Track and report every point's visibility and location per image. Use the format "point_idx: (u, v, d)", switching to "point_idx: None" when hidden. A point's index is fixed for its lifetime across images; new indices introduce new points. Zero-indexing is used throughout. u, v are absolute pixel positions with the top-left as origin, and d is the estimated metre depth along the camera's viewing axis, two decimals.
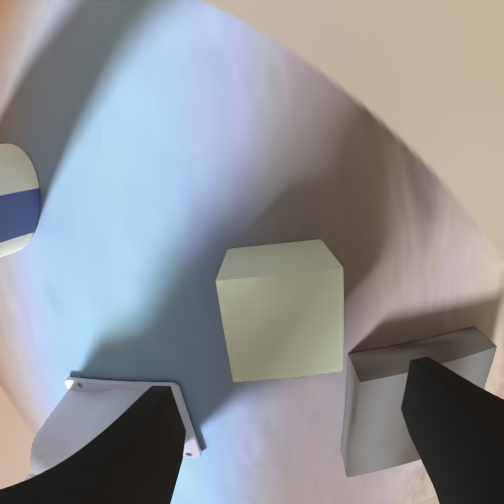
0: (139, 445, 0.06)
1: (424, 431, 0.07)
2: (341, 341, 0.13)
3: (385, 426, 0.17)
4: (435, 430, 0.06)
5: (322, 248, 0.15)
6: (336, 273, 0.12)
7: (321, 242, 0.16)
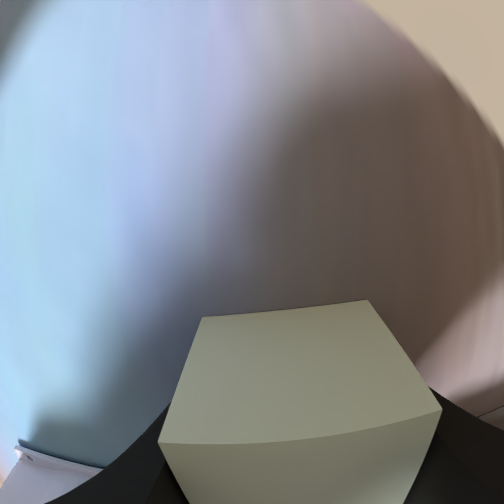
0: None
1: None
2: (402, 499, 0.05)
3: None
4: None
5: (380, 332, 0.07)
6: (427, 421, 0.04)
7: (372, 311, 0.08)
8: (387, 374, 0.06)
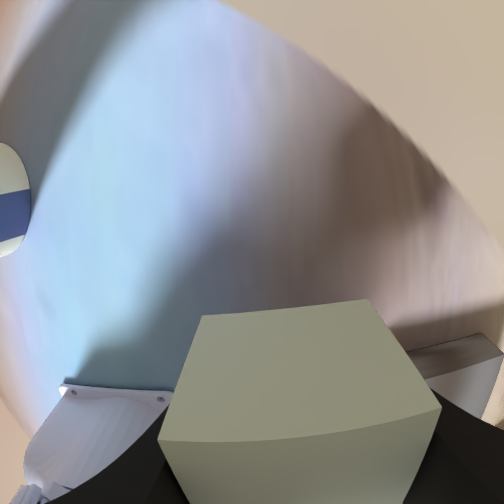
0: None
1: None
2: (401, 498, 0.05)
3: None
4: None
5: (379, 330, 0.07)
6: (426, 419, 0.04)
7: (372, 310, 0.08)
8: (386, 372, 0.06)
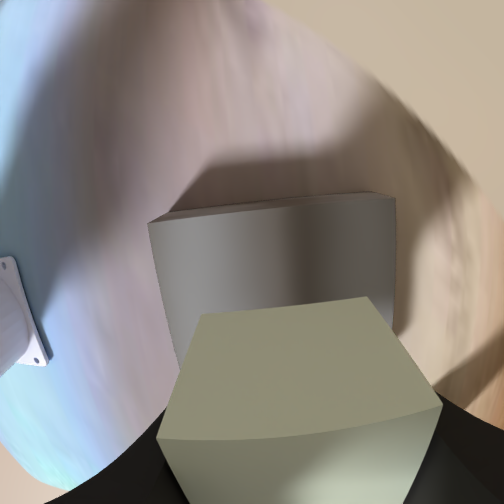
0: None
1: None
2: (403, 496, 0.05)
3: None
4: None
5: (379, 328, 0.07)
6: (427, 417, 0.04)
7: (371, 307, 0.08)
8: (387, 370, 0.06)
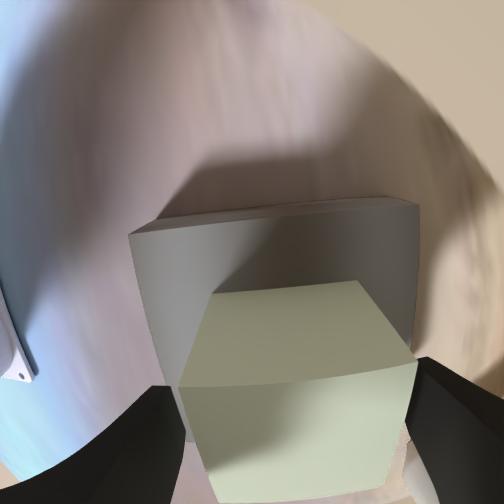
0: (139, 445, 0.06)
1: (424, 431, 0.07)
2: (390, 457, 0.07)
3: None
4: (435, 430, 0.06)
5: (366, 304, 0.09)
6: (405, 372, 0.06)
7: (361, 289, 0.10)
8: (371, 335, 0.07)
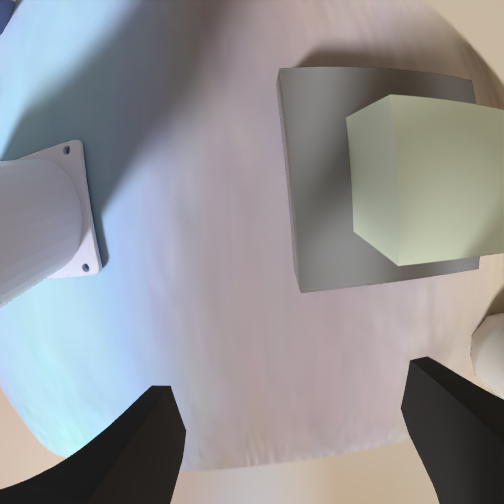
0: (139, 445, 0.06)
1: (424, 431, 0.07)
2: None
3: (341, 164, 0.13)
4: (435, 430, 0.06)
5: None
6: None
7: None
8: None
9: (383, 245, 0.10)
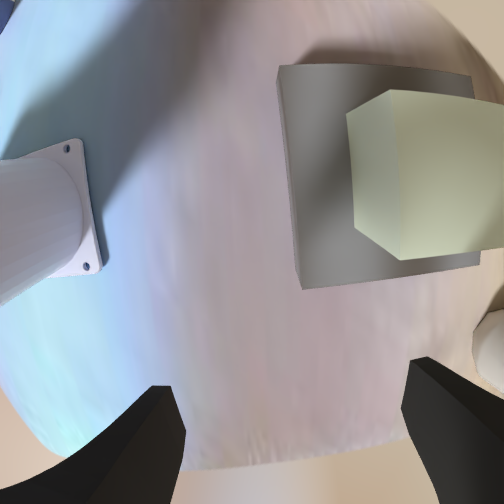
0: (139, 445, 0.06)
1: (424, 431, 0.07)
2: None
3: (341, 160, 0.13)
4: (435, 430, 0.06)
5: None
6: None
7: None
8: None
9: (384, 240, 0.10)
